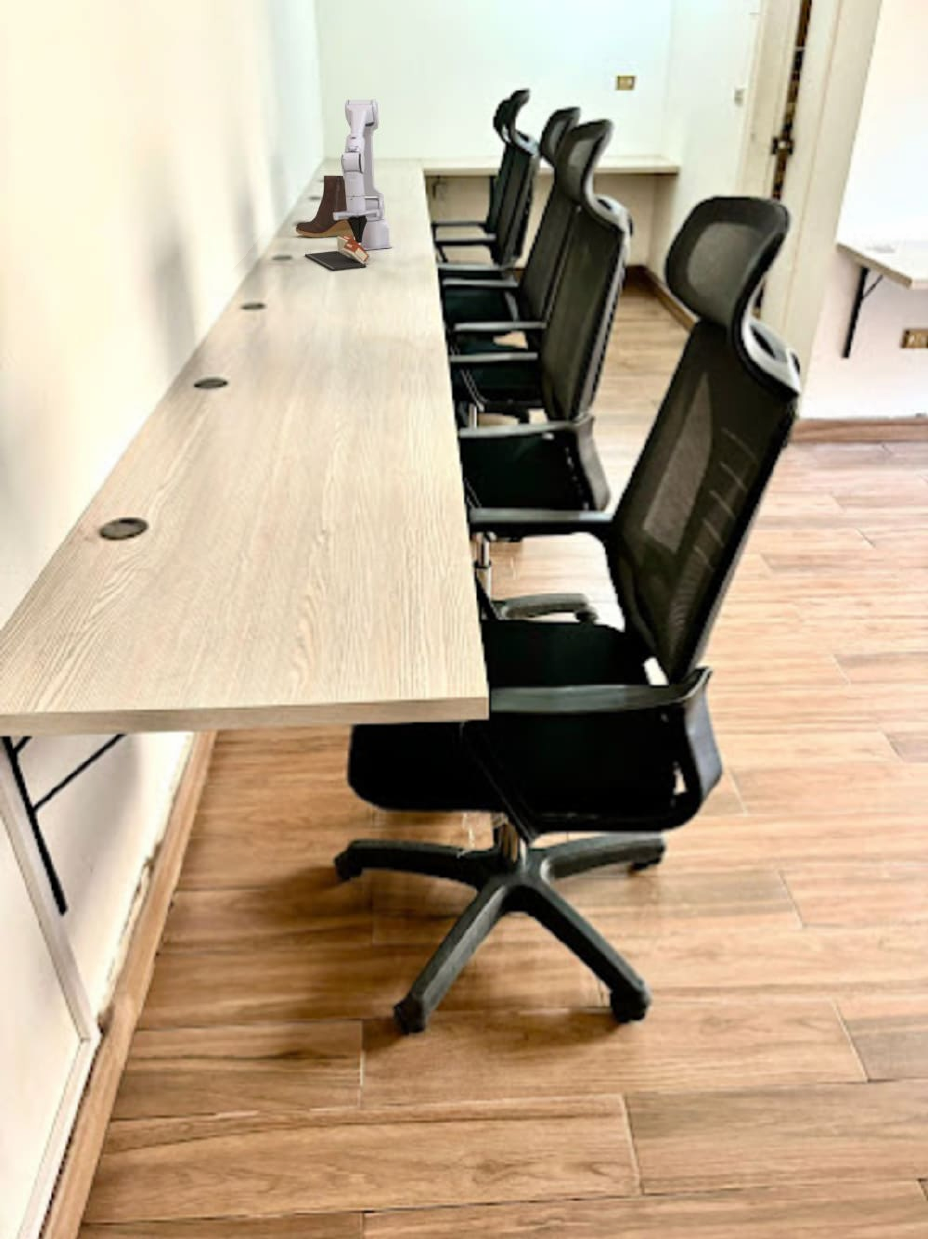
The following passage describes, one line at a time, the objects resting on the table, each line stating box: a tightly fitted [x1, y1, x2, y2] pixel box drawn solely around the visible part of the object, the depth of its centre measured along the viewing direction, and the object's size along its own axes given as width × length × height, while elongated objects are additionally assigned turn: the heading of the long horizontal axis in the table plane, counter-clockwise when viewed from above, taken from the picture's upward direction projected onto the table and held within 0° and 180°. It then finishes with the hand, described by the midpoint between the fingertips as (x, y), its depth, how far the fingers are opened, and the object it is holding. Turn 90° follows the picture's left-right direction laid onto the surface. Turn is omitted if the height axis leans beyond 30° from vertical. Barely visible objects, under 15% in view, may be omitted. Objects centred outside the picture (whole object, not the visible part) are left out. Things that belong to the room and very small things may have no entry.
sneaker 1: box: [336, 236, 355, 258], centre depth 310 cm, size 4×10×5 cm, turn 25°
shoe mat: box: [304, 250, 367, 272], centre depth 301 cm, size 11×28×1 cm, turn 25°
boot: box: [295, 174, 354, 239], centre depth 337 cm, size 9×24×20 cm, turn 84°
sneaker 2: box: [342, 239, 370, 265], centre depth 298 cm, size 4×10×5 cm
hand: (358, 242), depth 298 cm, fingers closed
